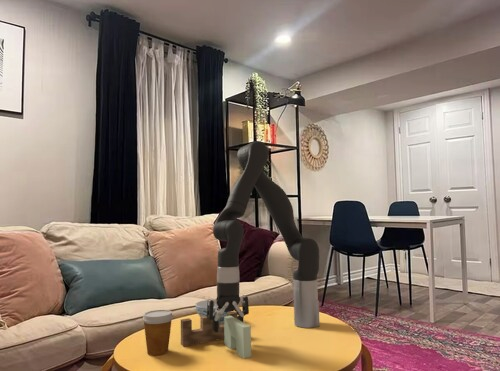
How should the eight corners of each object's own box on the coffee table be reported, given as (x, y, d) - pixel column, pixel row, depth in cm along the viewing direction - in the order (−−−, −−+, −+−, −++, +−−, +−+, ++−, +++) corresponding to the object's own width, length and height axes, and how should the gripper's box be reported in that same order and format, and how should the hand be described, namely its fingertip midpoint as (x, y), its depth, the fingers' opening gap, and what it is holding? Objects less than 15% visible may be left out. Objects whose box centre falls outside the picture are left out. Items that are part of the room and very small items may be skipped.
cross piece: (224, 344, 122) (224, 316, 123) (231, 343, 123) (230, 315, 124) (243, 358, 110) (243, 327, 111) (251, 356, 111) (250, 326, 112)
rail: (234, 334, 133) (234, 311, 133) (237, 336, 130) (237, 312, 131) (180, 344, 123) (180, 319, 124) (183, 346, 121) (182, 321, 122)
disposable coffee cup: (179, 349, 119) (179, 310, 120) (160, 359, 110) (160, 318, 111) (155, 345, 123) (155, 308, 124) (135, 355, 114) (135, 315, 115)
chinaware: (204, 331, 137) (204, 310, 137) (190, 321, 150) (190, 302, 150) (240, 324, 144) (239, 304, 145) (223, 316, 157) (223, 297, 158)
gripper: (242, 276, 130) (242, 324, 129) (204, 280, 123) (203, 330, 122) (252, 280, 123) (252, 330, 122) (212, 283, 117) (212, 336, 115)
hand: (228, 330), depth 122 cm, fingers open, 8 cm apart
